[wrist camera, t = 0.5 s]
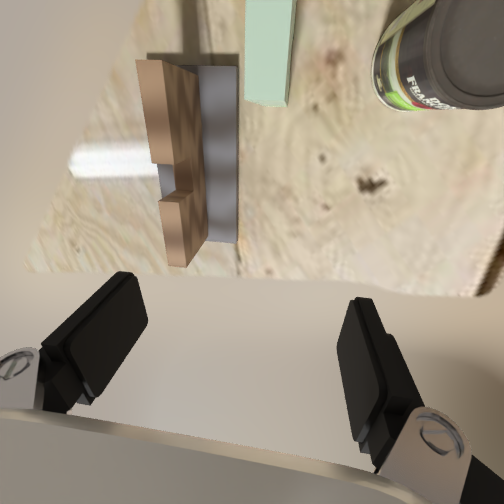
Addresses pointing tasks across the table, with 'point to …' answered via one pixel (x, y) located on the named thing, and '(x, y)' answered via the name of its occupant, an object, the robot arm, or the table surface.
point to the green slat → (268, 50)
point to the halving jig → (193, 152)
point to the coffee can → (442, 57)
